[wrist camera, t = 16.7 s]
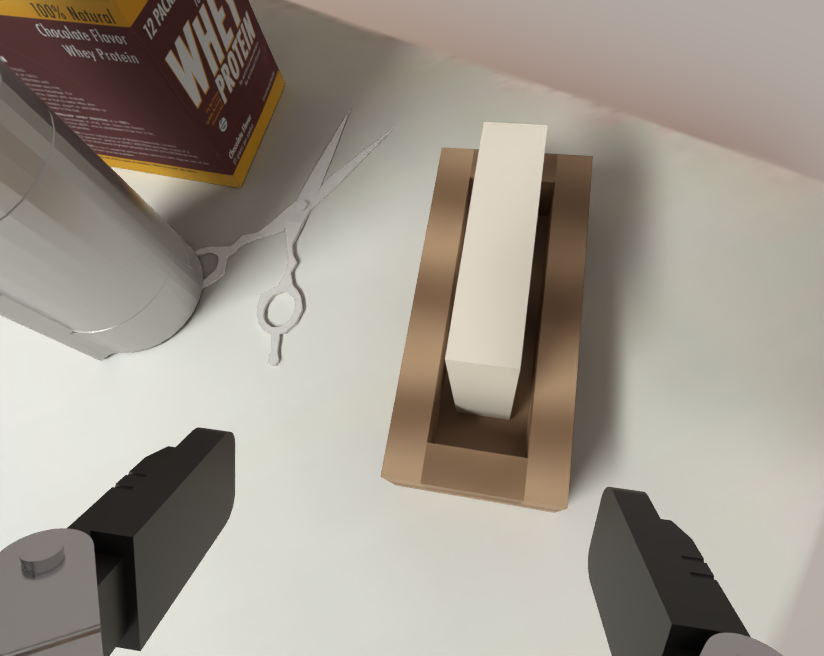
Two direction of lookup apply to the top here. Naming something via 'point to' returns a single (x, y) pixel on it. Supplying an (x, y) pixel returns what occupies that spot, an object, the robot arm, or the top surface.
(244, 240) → the scissors
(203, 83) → the supplement box
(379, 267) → the top surface
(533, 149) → the white rectangular block
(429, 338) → the walnut box
